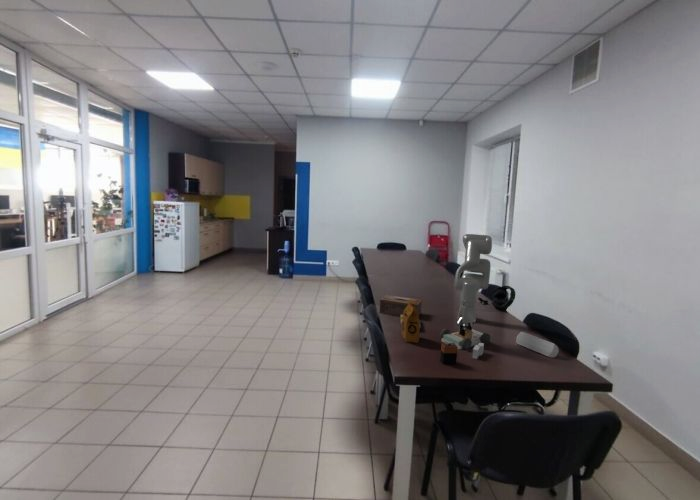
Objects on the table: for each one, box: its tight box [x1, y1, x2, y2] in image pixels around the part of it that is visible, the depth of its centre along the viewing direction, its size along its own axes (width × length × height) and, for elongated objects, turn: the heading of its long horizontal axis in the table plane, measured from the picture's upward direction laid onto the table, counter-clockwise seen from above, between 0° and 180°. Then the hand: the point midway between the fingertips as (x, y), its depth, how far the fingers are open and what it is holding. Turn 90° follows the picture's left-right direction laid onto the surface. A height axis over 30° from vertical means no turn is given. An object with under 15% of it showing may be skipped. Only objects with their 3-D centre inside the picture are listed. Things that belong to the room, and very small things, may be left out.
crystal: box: [515, 331, 559, 358], centre depth 206 cm, size 7×7×24 cm
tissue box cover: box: [379, 294, 423, 317], centre depth 261 cm, size 26×14×10 cm, turn 68°
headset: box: [477, 285, 516, 310], centre depth 285 cm, size 18×14×29 cm
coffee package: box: [401, 299, 421, 344], centre depth 212 cm, size 10×12×22 cm
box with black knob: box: [458, 328, 473, 339], centre depth 213 cm, size 6×4×6 cm
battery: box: [439, 342, 458, 365], centre depth 184 cm, size 4×7×10 cm, turn 98°
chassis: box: [439, 324, 491, 351], centre depth 213 cm, size 24×17×6 cm
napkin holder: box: [471, 343, 485, 360], centre depth 195 cm, size 15×11×6 cm
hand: (465, 334), depth 213 cm, fingers open, 5 cm apart
